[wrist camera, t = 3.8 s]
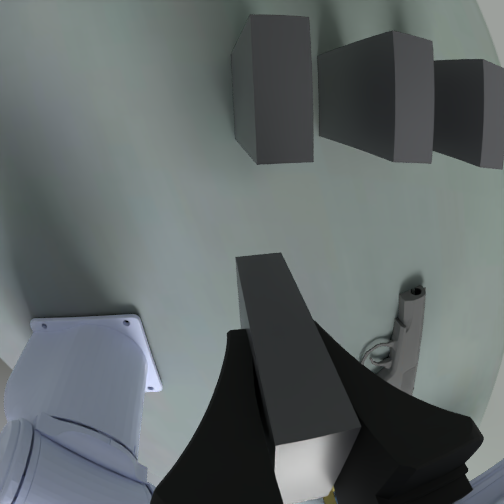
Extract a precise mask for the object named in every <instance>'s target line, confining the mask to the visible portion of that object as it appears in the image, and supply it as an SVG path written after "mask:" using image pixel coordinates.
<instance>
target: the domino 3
mask: <svg viewBox="0 0 504 504" xmlns="http://www.w3.org/2000/svg"><path fill="white" fill-rule="evenodd" d="M317 61H318V88H319V136H321V137H324V138H327V139H330V140H333V141H336V142H339V143H342V144H345V145H348V146H351V147H354V148H357V149H360V150H363V151H365V152H368V153H371V154H373V155H376V156H379V157H381V158H384V159H387V160H389V161H392V162H405V163H428V164H431V162H432V149H433V132H434V60H433V44H432V41H430V40H427V39H424V38H420V37H417V36H413V35H409V34H405V33H401V32H397V31H393V30H392V31H389V32H385V33H382V34H379V35H376V36H372V37H369V38H366V39H363V40H360V41H357V42H354V43H351V44H348V45H345V46H343V47H340V48H337V49H334V50H332V51H329V52H326V53H324V54H321V55H319V56H317Z"/></svg>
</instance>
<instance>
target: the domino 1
mask: <svg viewBox="0 0 504 504" xmlns="http://www.w3.org/2000/svg"><path fill="white" fill-rule="evenodd" d="M231 67H232V87H233V107H234V125H235V139H236V140H237V142H238V143H239V144H240V145H241V146H242V147H243V149H244V150H245V151H246V152H247V153H248V155H249V156H250V157H251V158H252V159H253V161H254V162H255V163H256V164H257V165H260V164H278V163H301V162H313V88H312V61H311V41H310V25H309V17H302V16H287V15H250V16H249V18H248V20H247V22H246V24H245V26H244V28H243V30H242V32H241V34H240V36H239V39H238V41H237V43H236V45H235V47H234V49H233V51H232V54H231Z"/></svg>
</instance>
